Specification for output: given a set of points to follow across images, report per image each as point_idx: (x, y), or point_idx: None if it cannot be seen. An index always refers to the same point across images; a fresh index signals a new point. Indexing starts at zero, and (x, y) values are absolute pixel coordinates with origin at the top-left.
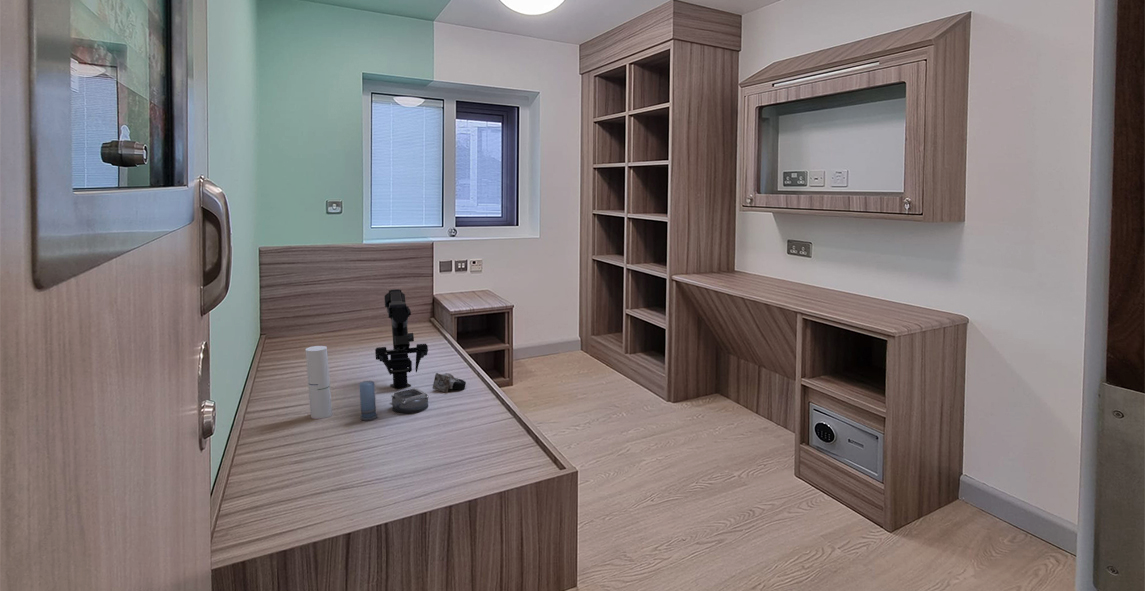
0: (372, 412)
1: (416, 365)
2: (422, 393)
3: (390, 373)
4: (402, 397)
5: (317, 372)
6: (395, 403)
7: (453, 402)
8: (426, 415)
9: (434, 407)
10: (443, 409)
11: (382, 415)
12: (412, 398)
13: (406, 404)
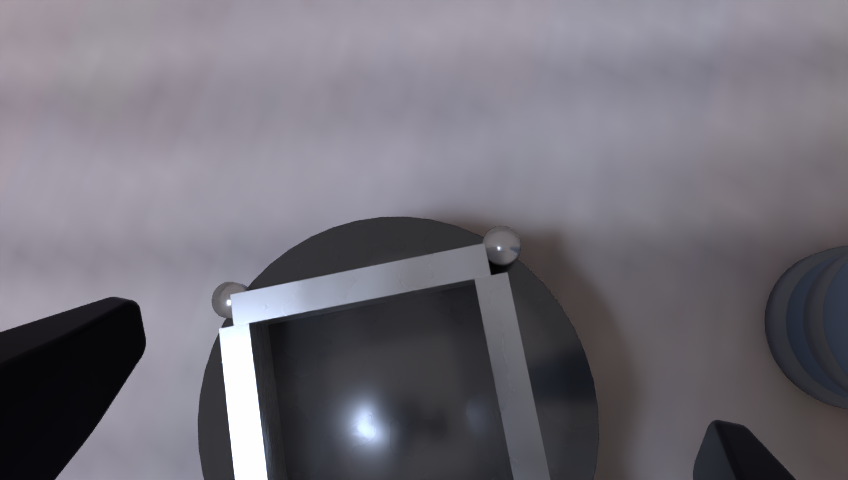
0: None
1: (3, 350)
2: (250, 339)
3: (730, 422)
4: (495, 317)
5: None
6: (577, 338)
7: None
8: (345, 137)
9: None
10: (181, 206)
11: (706, 330)
12: (393, 264)
13: (477, 237)
